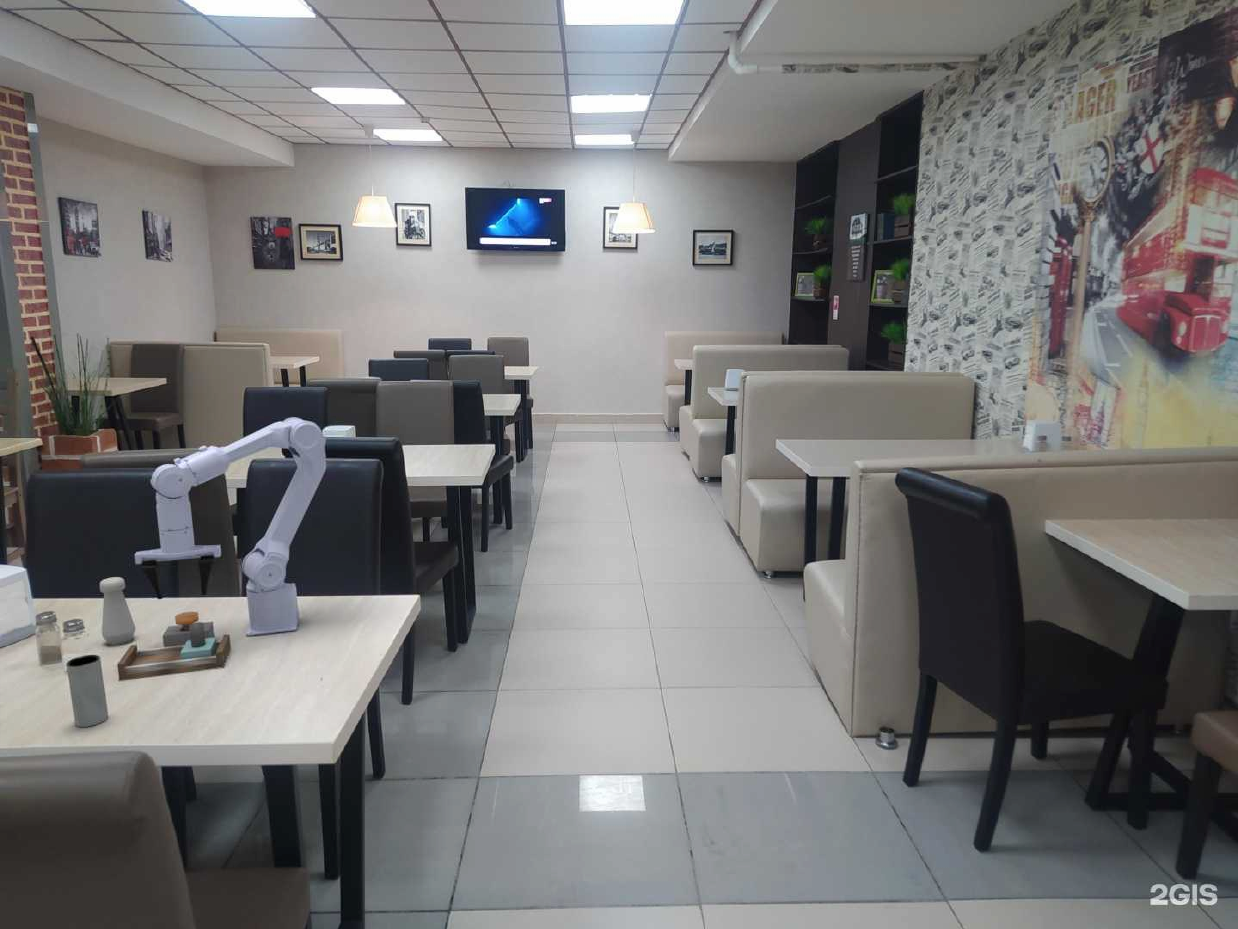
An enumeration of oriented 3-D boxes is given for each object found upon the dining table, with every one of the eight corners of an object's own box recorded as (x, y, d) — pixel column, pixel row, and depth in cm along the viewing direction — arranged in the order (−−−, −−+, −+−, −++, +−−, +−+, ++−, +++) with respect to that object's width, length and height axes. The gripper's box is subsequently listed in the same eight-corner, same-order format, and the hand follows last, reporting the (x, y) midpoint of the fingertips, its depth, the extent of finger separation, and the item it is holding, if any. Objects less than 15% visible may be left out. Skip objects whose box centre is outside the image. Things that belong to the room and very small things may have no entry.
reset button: (202, 630, 165) (199, 610, 164) (198, 638, 161) (195, 617, 161) (179, 633, 164) (177, 613, 163) (175, 640, 160) (173, 620, 160)
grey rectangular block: (214, 638, 167) (212, 621, 166) (210, 647, 162) (208, 630, 161) (170, 643, 164) (168, 626, 164) (164, 652, 160) (162, 635, 159)
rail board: (230, 648, 161) (229, 634, 161) (223, 667, 153) (221, 652, 152) (132, 660, 156) (130, 645, 156) (119, 680, 148) (117, 664, 147)
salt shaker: (143, 636, 168) (135, 574, 166) (124, 647, 163) (115, 584, 160) (116, 635, 169) (108, 574, 167) (96, 646, 163) (87, 583, 161)
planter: (84, 714, 135) (76, 655, 133) (114, 713, 136) (105, 653, 134) (69, 728, 131) (60, 667, 129) (99, 726, 131) (90, 665, 129)
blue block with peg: (217, 647, 159) (213, 617, 158) (211, 659, 153) (208, 628, 152) (188, 650, 158) (184, 620, 156) (181, 663, 152) (177, 632, 151)
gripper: (220, 519, 164) (226, 585, 167) (138, 525, 160) (145, 593, 162) (215, 527, 158) (221, 596, 160) (129, 534, 153) (137, 604, 156)
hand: (183, 595), depth 161 cm, fingers open, 7 cm apart
